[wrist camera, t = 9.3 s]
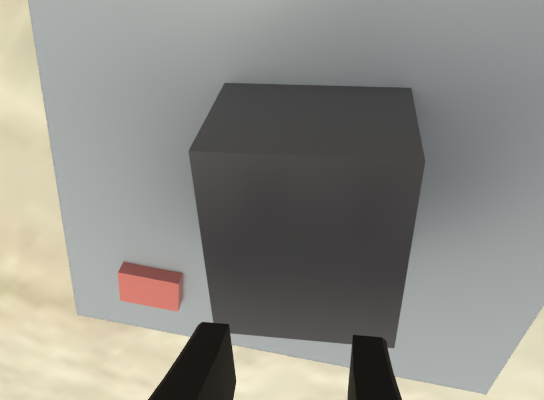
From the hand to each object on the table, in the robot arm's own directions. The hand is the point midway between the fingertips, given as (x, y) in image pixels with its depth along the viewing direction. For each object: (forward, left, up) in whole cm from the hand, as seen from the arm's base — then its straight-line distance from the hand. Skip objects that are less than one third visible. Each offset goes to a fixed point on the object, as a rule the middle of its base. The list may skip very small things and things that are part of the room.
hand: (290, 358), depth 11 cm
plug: (0, 0, -9) cm, 9 cm away
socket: (0, 0, -9) cm, 9 cm away
